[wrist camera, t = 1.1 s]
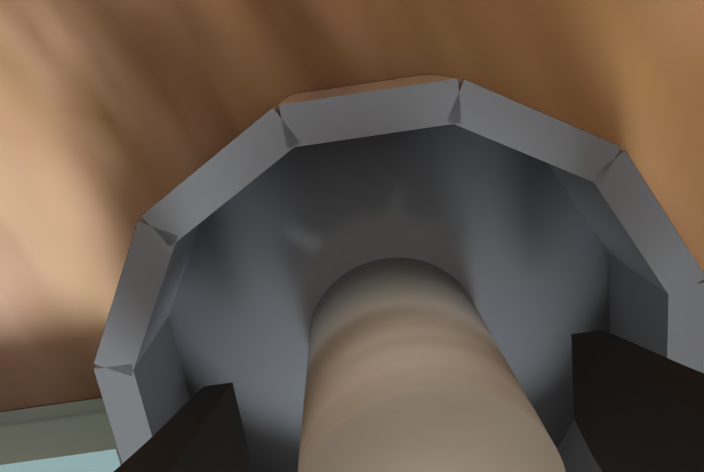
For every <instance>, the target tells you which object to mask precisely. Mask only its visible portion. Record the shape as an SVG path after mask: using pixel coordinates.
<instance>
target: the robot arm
mask: <svg viewBox="0 0 704 472" xmlns="http://www.w3.org/2000/svg"><path fill="white" fill-rule="evenodd" d="M571 337H572V370H573V404H574V419H575V421H576V423H577V425H578V427H579V429H580V431H581V434H582V436H583V438H584V440H585V442H586V444H587V446H588V448H589V450H590V452H591V454H592V456H593V458H594V459H595V461H596V463H597V464H598V466H599V467H600V469H601V470H602V472H704V373H702V372H699V371H697V370H694V369H692V368H689V367H687V366H685V365H682V364H680V363H678V362H675V361H673V360H671V359H668V358H666V357H664V356H662V355H659V354H657V353H655V352H653V351H650V350H648V349H646V348H644V347H641V346H639V345H637V344H634V343H632V342H630V341H628V340H625V339H623V338H621V337H618V336H616V335H613V334H611V333H608V332H605V331H602V330H597V331H590V332H583V333H576V334H571ZM114 472H251V460H250V455H249V451H248V447H247V442H246V438H245V434H244V429H243V425H242V421H241V416H240V412H239V408H238V403H237V399H236V395H235V390H234V386H233V382H231V383H224V384H217V385H210V386H204V387H203V388H202V389H201V390H199V391H198V392H197V393H196V394H195V395H194V396H193V397H192V398H191V399H190V400H189V401H188V402H187V403H186V404H185V405H184V406H183V407H182V408H181V409H180V410H179V411H178V412H177V413H176V414H175V415H174V416H173V417H172V418H171V419H170V420H169V421H168V422H167V423H166V424H165V425H164V426H163V427H162V428H161V429H159V430H158V431H157V432H156V433H155V434H154V435H153V436H152V437H151V438H150V439H149V440H148V441H147V442H146V443H145V444H144V445H143V446H142V447H140V448H139V449H138V450H137V451H136V452H135V453H134V454H133V455H132V456H130V457H129V458H128V459H127V460H126V461H125V462H124V463H123V464H121V465H120V466H119V467H118V468H117V469H116V470H115V471H114Z"/></svg>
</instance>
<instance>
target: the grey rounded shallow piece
mask: <svg viewBox="0 0 704 472" xmlns="http://www.w3.org/2000/svg"><path fill="white" fill-rule="evenodd" d="M620 148H621V146H618V145H616V144H614V143H611V142H609V141H607V140H604V139H602V138H600V137H597V136H595V135H593V134H590V133H588V132H586V131H583V130H581V129H579V128H576V127H574V126H572V125H569V124H567V123H565V122H562V121H560V120H558V119H555V118H553V117H551V116H548V115H546V114H544V113H541V112H539V111H537V110H534V109H532V108H530V107H527V106H525V105H523V104H520V103H518V102H516V101H513V100H511V99H509V98H506V97H504V96H502V95H500V94H497V93H495V92H493V91H490V90H488V89H486V88H483V87H481V86H479V85H476V84H474V83H472V82H469V81H467V80H464V79H458V78H451V77H444V76H437V75H430V74H426V75H420V76H413V77H406V78H399V79H392V80H386V81H379V82H372V83H365V84H358V85H351V86H345V87H338V88H331V89H324V90H317V91H311V92H304V93H297V94H292V95H291V96H289V97H288V96H287V97H286V98H285V99H283V100H282V101H281V102H279V103H278V104H277V105H276V106H274V107H273V108H272V109H270V110H269V111H268V112H267V113H266V114H264V115H263V116H262V117H261V118H260V119H258V120H257V121H256V122H255V123H254V124H252V125H251V126H250V127H249V128H247V129H246V130H245V131H244V132H243V133H241V134H240V135H239V136H238V137H237V138H235V139H234V140H233V141H232V142H230V143H229V144H228V145H227V146H226V147H224V148H223V149H222V150H221V151H220V152H218V153H217V154H216V155H215V156H213V157H212V158H211V159H210V160H209V161H207V162H206V163H205V164H204V165H203V166H201V167H200V168H199V169H198V170H196V171H195V172H194V173H193V174H192V175H190V176H189V177H188V178H187V179H186V180H184V181H183V182H182V183H181V184H180V185H178V186H177V187H176V188H175V189H173V190H172V191H171V192H170V193H169V194H167V195H166V196H165V197H164V198H163V199H161V200H160V201H159V202H158V203H156V204H155V205H154V206H153V207H152V208H150V209H149V210H148V211H147V212H146V213H144V214H143V215H142V216H141V217H142V218H141V219H140V220H139V221H138V222H137V225H136V228H135V232H134V235H133V238H132V241H131V244H130V248H129V251H128V254H127V257H126V261H125V264H124V267H123V270H122V274H121V277H120V280H119V283H118V287H117V290H116V293H115V296H114V299H113V303H112V306H111V309H110V312H109V316H108V319H107V322H106V325H105V329H104V332H103V335H102V338H101V341H100V345H99V348H98V351H97V354H96V358H95V361H94V364H95V365H97V366H96V367H95V368H94V372H95V376H96V379H97V382H98V385H99V389H100V392H101V395H102V398H103V401H104V405H105V408H106V411H107V414H108V418H109V421H110V424H111V427H112V431H113V434H114V437H115V440H116V444H117V447H118V450H119V453H120V457H121V460H122V463H124V462H125V461H126V460H127V459H128V458H129V457H130V456H132V455H133V454H134V453H135V452H136V451H137V450H138V449H139V448H140V447H142V446H143V445H144V444H145V443H146V442H147V441H148V440H149V439H150V438H151V437H152V436H153V435H154V434H155V433H156V432H157V431H158V430H159V429H161V428H162V427H163V426H164V425H165V424H166V423H167V422H168V421H169V420H170V419H171V418H172V417H173V416H174V415H175V414H176V413H177V412H178V411H179V410H180V409H181V408H182V407H183V406H184V405H185V404H186V403H187V402H188V401H189V400H190V399H191V398H192V397H193V396H194V395H195V394H196V393H197V392H198V391H199V390H201V389H202V388H203V387H204V386H210V385H217V384H224V383H231V382H233V386H234V390H235V395H236V399H237V403H238V408H239V412H240V416H241V421H242V425H243V429H244V434H245V438H246V442H247V447H248V451H249V455H250V460H251V472H298V462H299V451H300V439H301V428H302V417H303V406H304V395H305V383H306V372H307V361H308V350H309V339H310V328H311V323H312V318H313V315H314V312H315V309H316V307H317V305H318V303H319V301H320V300H321V298H322V297H323V295H324V294H325V292H326V291H327V290H328V289H329V288H330V286H331V285H332V284H333V283H334V282H335V281H336V280H338V279H339V278H340V277H341V276H342V275H344V274H345V273H347V272H349V271H350V270H352V269H354V268H356V267H358V266H360V265H362V264H365V263H368V262H371V261H374V260H379V259H384V258H395V257H397V258H411V259H416V260H421V261H424V262H427V263H430V264H432V265H434V266H437V267H439V268H441V269H442V270H444V271H445V272H447V273H449V274H450V275H451V276H452V277H453V278H455V279H456V280H457V281H458V282H459V283H460V284H461V285H462V287H463V288H464V289H465V290H466V292H467V293H468V295H469V296H470V298H471V300H472V302H473V303H474V305H475V307H476V309H477V310H478V312H479V314H480V315H481V317H482V319H483V321H484V322H485V324H486V326H487V328H488V329H489V331H490V333H491V335H492V336H493V338H494V340H495V342H496V343H497V345H498V347H499V349H500V350H501V352H502V354H503V356H504V357H505V359H506V361H507V363H508V364H509V366H510V368H511V370H512V371H513V373H514V375H515V377H516V378H517V380H518V382H519V384H520V385H521V387H522V389H523V391H524V392H525V394H526V396H527V398H528V399H529V401H530V403H531V404H532V406H533V408H534V410H535V411H536V413H537V415H538V417H539V418H540V420H541V422H542V424H543V425H544V427H545V429H546V431H547V432H548V434H549V436H550V438H551V439H552V441H553V443H554V445H555V446H556V448H557V450H558V452H559V454H560V457H561V459H562V461H563V464H564V467H565V471H566V472H602V470H601V469H600V467H599V466H598V464H597V463H596V461H595V459H594V458H593V456H592V454H591V452H590V450H589V448H588V446H587V444H586V442H585V440H584V438H583V436H582V434H581V431H580V429H579V427H578V425H577V423H576V421H575V419H574V404H573V370H572V337H571V334H576V333H583V332H590V331H597V330H602V331H605V332H608V333H611V334H613V335H616V336H618V337H621V338H623V339H625V340H628V341H630V342H632V343H634V344H637V345H639V346H641V347H644V348H646V349H648V350H650V351H653V352H655V353H657V354H659V355H662V356H664V357H666V358H668V359H671V360H673V361H675V362H678V363H680V364H682V365H685V366H687V367H689V368H692V369H694V370H697V371H699V372H702V373H704V280H703V279H704V273H703V271H702V270H701V268H700V267H699V265H698V264H697V262H696V260H695V259H694V257H693V256H692V254H691V253H690V251H689V249H688V248H687V246H686V245H685V243H684V242H683V240H682V238H681V237H680V235H679V234H678V232H677V231H676V229H675V227H674V226H673V224H672V223H671V221H670V219H669V218H668V216H667V215H666V213H665V212H664V210H663V208H662V207H661V205H660V204H659V202H658V201H657V199H656V197H655V196H654V194H653V193H652V191H651V190H650V188H649V186H648V185H647V183H646V182H645V180H644V179H643V177H642V175H641V174H640V172H639V171H638V169H637V168H636V166H635V164H634V163H633V161H632V160H631V158H630V157H629V155H628V153H627V152H626V151H625V150H622V149H620Z"/></svg>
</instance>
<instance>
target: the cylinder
mask: <svg viewBox="0 0 704 472" xmlns="http://www.w3.org/2000/svg"><path fill="white" fill-rule="evenodd" d="M298 472H566V471H565V467H564V464H563V461H562V459H561V457H560V454H559V452H558V450H557V448H556V446H555V445H554V443H553V441H552V439H551V438H550V436H549V434H548V432H547V431H546V429H545V427H544V425H543V424H542V422H541V420H540V418H539V417H538V415H537V413H536V411H535V410H534V408H533V406H532V404H531V403H530V401H529V399H528V398H527V396H526V394H525V392H524V391H523V389H522V387H521V385H520V384H519V382H518V380H517V378H516V377H515V375H514V373H513V371H512V370H511V368H510V366H509V364H508V363H507V361H506V359H505V357H504V356H503V354H502V352H501V350H500V349H499V347H498V345H497V343H496V342H495V340H494V338H493V336H492V335H491V333H490V331H489V329H488V328H487V326H486V324H485V322H484V321H483V319H482V317H481V315H480V314H479V312H478V310H477V309H476V307H475V305H474V303H473V302H472V300H471V298H470V296H469V295H468V293H467V292H466V290H465V289H464V288H463V287H462V285H461V284H460V283H459V282H458V281H457V280H456V279H455V278H453V277H452V276H451V275H450V274H449V273H447V272H445V271H444V270H442V269H441V268H439V267H437V266H434V265H432V264H430V263H427V262H424V261H421V260H416V259H411V258H397V257H395V258H384V259H379V260H374V261H371V262H368V263H365V264H362V265H360V266H358V267H356V268H354V269H352V270H350V271H349V272H347V273H345V274H344V275H342V276H341V277H340V278H339V279H338V280H336V281H335V282H334V283H333V284H332V285H331V286H330V288H329V289H328V290H327V291H326V292H325V294H324V295H323V297H322V298H321V300H320V301H319V303H318V305H317V307H316V309H315V312H314V315H313V318H312V323H311V328H310V339H309V350H308V361H307V372H306V383H305V395H304V406H303V417H302V428H301V439H300V451H299V462H298Z"/></svg>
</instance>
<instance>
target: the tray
mask: <svg viewBox="0 0 704 472" xmlns="http://www.w3.org/2000/svg"><path fill="white" fill-rule="evenodd" d="M121 464H123V463H122V460H121V457H120V453H119V450H118V447H117V444H116V440H115V437H114V434H113V431H112V427H111V424H110V421H109V418H108V414H107V411H106V408H105V405H104V401H103V398H98V399H91V400H84V401H76V402H69V403H62V404H55V405H48V406H41V407H34V408H27V409H20V410H12V411H5V412H0V472H114V471H115V470H116V469H117V468H118V467H119V466H120V465H121Z"/></svg>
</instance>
